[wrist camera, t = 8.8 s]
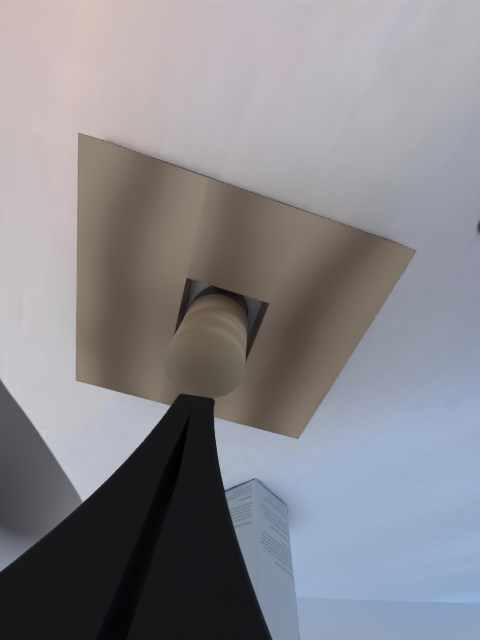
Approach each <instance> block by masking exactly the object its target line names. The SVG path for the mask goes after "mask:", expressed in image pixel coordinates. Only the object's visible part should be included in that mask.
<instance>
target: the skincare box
mask: <svg viewBox="0 0 480 640" xmlns="http://www.w3.org/2000/svg"><path fill="white" fill-rule="evenodd" d="M225 495H226V499H227V503H228V507H229V511H230V515H231V518H232V522H233V526H234V529H235V533H236V536H237V539H238V542H239V546H240V549H241V552H242V555H243V558H244V561H245V564H246V567H247V570H248V574H249V577H250V580H251V582H252V585H253V588H254V591H255V594H256V597H257V599H258V602H259V605H260V608H261V611H262V613H263V616H264V618H265V621H266V624H267V626H268V629H269V632H270V634H271V637H272V640H300V636H299V625H298V615H297V605H296V596H295V586H294V576H293V566H292V556H291V547H290V537H289V528H288V518H287V507H286V505H285V504H284V503H283V502H282V501H281V500H279V499H278V498H277V497H276V496H275V495H274V494H272V493H271V492H270V491H269V490H268V489H267V488H266V487H264V486H263V485H262V484H261V483H260V482H259V481H258V480H257V479H254V480H252V481H249V482H247V483H245V484H242V485H240V486H238V487H236V488H233V489H231V490H229V491H226V492H225Z"/></svg>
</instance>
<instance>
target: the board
mask: <svg viewBox="0 0 480 640" xmlns="http://www.w3.org/2000/svg"><path fill="white" fill-rule="evenodd" d="M416 252H417V251H416V250H414V249H411V248H409V247H406V246H403V245H401V244H398V243H396V242H393V241H390V240H388V239H385V238H382V237H379V236H376V235H373V234H370V233H368V232H365V231H362V230H359V229H356V228H353V227H350V226H347V225H345V224H342V223H339V222H336V221H333V220H330V219H327V218H325V217H322V216H319V215H316V214H313V213H310V212H307V211H305V210H302V209H299V208H296V207H293V206H290V205H287V204H285V203H282V202H279V201H276V200H273V199H270V198H267V197H265V196H262V195H259V194H256V193H253V192H250V191H247V190H245V189H242V188H239V187H236V186H233V185H230V184H227V183H224V182H222V181H219V180H216V179H213V178H210V177H207V176H204V175H202V174H199V173H196V172H193V171H190V170H187V169H184V168H182V167H179V166H176V165H173V164H170V163H167V162H164V161H162V160H159V159H156V158H153V157H150V156H147V155H144V154H142V153H139V152H136V151H133V150H130V149H127V148H124V147H121V146H119V145H116V144H113V143H110V142H107V141H104V140H101V139H98V138H94V137H91V136H88V135H84V134H81V133H78V212H77V312H76V381H80V382H83V383H87V384H91V385H95V386H99V387H102V388H106V389H110V390H114V391H118V392H121V393H125V394H129V395H133V396H137V397H140V398H144V399H148V400H152V401H156V402H159V403H163V404H167V405H172V404H173V402H174V401H175V399H176V398H177V396H178V395H179V394H187V393H185V392H183V391H181V390H180V389H178V388H177V387H176V386H175V385H174V384H173V383H172V382H171V381H170V379H169V378H168V376H167V374H166V372H165V369H164V355H165V352H166V350H167V348H168V346H169V344H170V342H171V341H172V339H173V337H174V335H175V333H176V332H177V330H178V328H179V326H180V324H181V322H182V321H183V317H184V313H185V308H186V304H187V300H188V296H189V291H190V287H191V283H192V280H196V281H199V282H202V283H205V284H209V285H212V286H215V287H218V288H221V289H225V290H228V291H231V292H234V293H238V294H241V295H244V296H247V297H250V298H254V299H257V300H260V301H263V303H262V305H261V308H260V311H259V313H258V316H257V318H256V321H255V324H254V326H253V329H252V331H251V334H250V337H249V339H248V342H247V344H246V360H245V374H244V377H243V380H242V382H241V383H240V385H239V386H238V387H237V388H236V389H235V390H234V391H232V392H231V393H229V394H227V395H225V396H222V397H218V398H213V399H214V400H215V405H214V417H216V418H220V419H224V420H228V421H232V422H235V423H239V424H243V425H247V426H250V427H254V428H258V429H262V430H266V431H269V432H273V433H277V434H281V435H285V436H288V437H292V438H296V439H299V437H300V435H301V434H302V432H303V431H304V429H305V428H306V426H307V424H308V423H309V421H310V420H311V418H312V416H313V415H314V413H315V412H316V410H317V408H318V407H319V405H320V404H321V402H322V401H323V399H324V397H325V396H326V394H327V393H328V391H329V389H330V388H331V386H332V385H333V383H334V382H335V380H336V378H337V377H338V375H339V374H340V372H341V370H342V369H343V367H344V366H345V364H346V363H347V361H348V359H349V358H350V356H351V355H352V353H353V351H354V350H355V348H356V347H357V345H358V343H359V342H360V340H361V339H362V337H363V336H364V334H365V332H366V331H367V329H368V328H369V326H370V324H371V323H372V321H373V320H374V318H375V317H376V315H377V313H378V312H379V310H380V309H381V307H382V305H383V304H384V302H385V301H386V299H387V298H388V296H389V294H390V293H391V291H392V290H393V288H394V286H395V285H396V283H397V282H398V280H399V278H400V277H401V275H402V274H403V272H404V271H405V269H406V267H407V266H408V264H409V263H410V261H411V259H412V258H413V256H414V255H415V253H416ZM188 395H189V394H188Z"/></svg>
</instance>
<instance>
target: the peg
mask: <svg viewBox="0 0 480 640" xmlns="http://www.w3.org/2000/svg"><path fill="white" fill-rule="evenodd" d="M248 329H249V320H248V309H247V306H246V303H245V301H244V300H243V299H242V297H241V296H240V295H239V294H238V293H234V292H231V291H228V290H225V289H221V288H218V287H211V288H208V289H205V290H203V291H202V292H200V293H199V294H198V295H197V296H196V297H195V299H194V301H193V302H192V303H191V304H190V306H189V307H188V309H187V311H186V313H185V317H184V319H183V321H182V322H181V324H180V326H179V328H178V330H177V332H176V333H175V335H174V337H173V339H172V341H171V342H170V344H169V346H168V348H167V350H166V352H165V355H164V369H165V372H166V374H167V376H168V378H169V379H170V381H171V382H172V383H173V384H174V385H175V386H176V387H177V388H178V389H180V390H181V391H183V392H185V393H187V394H189V395H195V396H201V397H208V398H218V397H222V396H225V395H227V394H229V393H231V392H232V391H234V390H235V389H236V388H237V387H238V386H239V385H240V383H241V382H242V380H243V377H244V374H245V360H246V343H247V333H248Z"/></svg>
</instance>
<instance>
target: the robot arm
mask: <svg viewBox="0 0 480 640" xmlns="http://www.w3.org/2000/svg"><path fill="white" fill-rule="evenodd" d="M214 405H215V400H214V399H213V398H208V397H201V396H195V395H188V394H179V395H178V396H177V398H176V399H175V401H174V402H173V404H172V405H171V407H170V408H169V409H168V411H167V412H166V414H165V415H164V416H163V418H162V419H161V420H160V421H159V423H158V424H157V425H156V426H155V428H154V429H153V430H152V431H151V433H150V434H149V435H148V436H147V437H146V439H145V440H144V441H143V442H142V443H141V444H140V446H139V447H138V448H137V449H136V450H135V451H134V452H133V453H132V454H131V455H130V457H129V458H128V459H127V460H126V461H125V462H124V463H123V464H122V465H121V466H120V467H119V468H118V469H117V470H116V471H115V473H114V474H113V475H112V476H111V477H110V478H109V479H108V480H107V481H105V482H104V483H103V484H102V485H101V486H100V487H99V488H98V489H97V490H96V491H95V492H94V493H93V494H92V495H91V496H90V497H89V498H88V499H87V500H85V501H84V502H83V503H82V504H81V505H80V506H79V507H78V508H77V509H76V510H75V511H73V512H72V513H71V514H70V515H69V516H68V517H67V518H65V519H64V520H63V521H62V522H61V523H60V524H59V525H57V526H56V527H55V528H54V529H53V530H51V531H50V532H49V533H48V534H47V535H45V536H44V537H43V538H42V539H40V540H39V541H38V542H37V543H36V544H35V545H33V546H32V547H31V548H30V549H28V550H27V551H26V552H25V553H23V554H22V555H21V556H20V557H18V558H17V559H16V560H15V561H14V562H12V563H11V564H10V565H9V566H7V567H6V568H5V569H4V570H2V571H1V572H0V640H272V637H271V634H270V632H269V629H268V626H267V624H266V621H265V618H264V616H263V613H262V611H261V608H260V605H259V602H258V599H257V597H256V594H255V591H254V588H253V585H252V582H251V580H250V577H249V574H248V570H247V567H246V564H245V561H244V558H243V555H242V552H241V549H240V546H239V542H238V539H237V536H236V533H235V529H234V526H233V522H232V518H231V515H230V511H229V507H228V503H227V499H226V495H225V491H224V486H223V482H222V477H221V472H220V467H219V461H218V455H217V448H216V440H215V431H214Z"/></svg>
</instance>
